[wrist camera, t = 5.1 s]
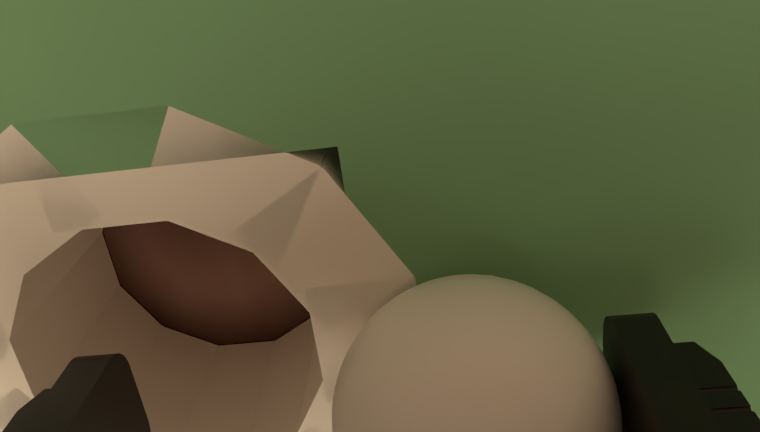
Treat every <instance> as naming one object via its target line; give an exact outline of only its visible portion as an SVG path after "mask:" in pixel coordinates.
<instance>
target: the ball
mask: <svg viewBox="0 0 760 432" xmlns="http://www.w3.org/2000/svg"><path fill="white" fill-rule="evenodd" d="M332 432H623V428H622V410H621V405H620V399H619V394H618V390H617V386H616V383H615V380H614V378H613V375H612V372H611V369H610V367H609V364H608V363H607V361H606V359H605V357H604V355H603V353H602V351H601V349H600V348H599V346H598V345H597V343H596V342H595V340H594V339H593V338H592V336H591V335H590V333H589V332H588V331H587V329H586V328H585V327H584V326H583V325H582V324H581V323H580V322H579V321H578V320H577V319H576V318H575V317H574V316H573V315H572V314H571V313H570V312H569V311H568V310H567V309H566V308H564V307H563V306H562V305H560V304H559V303H558V302H556V301H555V300H554V299H552V298H550V297H548V296H547V295H545V294H543V293H541V292H540V291H538V290H536V289H534V288H532V287H530V286H528V285H525V284H523V283H520V282H517V281H514V280H510V279H506V278H501V277H497V276H493V275H481V274H462V275H451V276H446V277H441V278H437V279H433V280H429V281H426V282H424V283H421V284H419V285H417V286H414V287H412V288H410V289H408V290H406V291H404V292H403V293H401V294H399V295H397V296H396V297H395V298H393V299H392V300H391V301H389V302H388V303H387V304H385V305H384V306H383V307H381V308H380V309H379V310H378V311H377V312H376V313H375V314H374V315H373V316H372V317H371V318H370V319H369V320H368V321H367V323H366V324H365V325H364V326H363V328H362V329H361V330H360V332H359V333H358V335H357V336H356V337H355V339H354V341H353V342H352V344H351V346H350V347H349V349H348V351H347V353H346V356H345V358H344V360H343V363H342V365H341V368H340V371H339V374H338V378H337V381H336V385H335V390H334V395H333V403H332Z"/></svg>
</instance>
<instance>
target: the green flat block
mask: <svg viewBox="0 0 760 432" xmlns="http://www.w3.org/2000/svg"><path fill="white" fill-rule="evenodd" d="M160 221H169V222H172V223H175V224H178V225H180V226H183V227H186V228H188V229H191V230H194V231H196V232H199V233H202V234H204V235H207V236H210V237H212V238H215V239H218V240H221V241H223V242H226V243H229V244H231V245H234V246H237V247H239V248H242V249H245V250H247V251H250V252H253V253H254V254H255V255H256V256H257V257H258V258H259V259H260V261H261V262H262V263H263V264H264V265H265V266H266V267H267V268H268V269H269V270H270V271H271V272H272V273H273V274H274V275H275V276H276V278H277V279H278V280H279V281H280V282H281V283H282V284H283V285H284V286H285V287H286V288H287V289H288V290H289V291H290V292H291V294H292V295H293V296H294V297H295V298H296V299H297V300H298V301H299V302H300V303H301V304H302V305H303V306H304V307H305V308H306V309H307V311H308V312H309V313H310V317H311V318H310V319H308V320H307V321H305V322H304V323H302V324H300V325H299V326H297V327H296V328H294V329H293V330H291V331H290V332H288V333H286V334H285V335H283V336H282V337H280V338H279V339H277V340H276V341H266V342H255V343H244V344H232V345H221V346H218V345H215V344H212V343H209V342H207V341H204V340H201V339H198V338H195V337H192V336H189V335H187V334H184V333H181V332H178V331H175V330H172V329H169V328H166V327H164V326H162V325H161V324H160V323H159V322H158V321H157V320H156V319H155V318H154V317H152V316H151V315H150V314H149V313H148V312H147V311H146V310H145V309H144V308H143V307H142V306H141V305H140V304H139V303H138V302H137V301H136V300H135V299H134V298H132V297H131V296H130V295H129V294H128V293H127V292H126V291H125V290H124V289H123V288H122V287H121V286H120V284H119V281H118V278H117V275H116V272H115V269H114V266H113V263H112V261H111V258H110V255H109V252H108V249H107V246H106V243H105V240H104V237H103V234H102V231H103V227H112V226H122V225H132V224H141V223H151V222H160ZM462 274H481V275H493V276H497V277H501V278H506V279H510V280H514V281H517V282H520V283H523V284H525V285H528V286H530V287H532V288H534V289H536V290H538V291H540V292H541V293H543V294H545V295H547V296H548V297H550V298H552V299H554V300H555V301H556V302H558V303H559V304H560V305H562V306H563V307H564V308H566V309H567V310H568V311H569V312H570V313H571V314H572V315H573V316H574V317H575V318H576V319H577V320H578V321H579V322H580V323H581V324H582V325H583V326H584V327H585V328H586V329H587V331H588V332H589V333H590V335H591V336H592V338H593V339H594V340H595V342H596V343H597V345H598V346H599V348H600V349H601V351H602V353H603V324H604V319H605V317H606V316H614V315H627V314H639V313H652V312H653V313H655V314H656V315H657V316H658V318H659V319H660V321H661V323H662V324H663V326H664V328H665V330H666V331H667V333H668V335H669V337H670V338H671V340H672V342H673V343H680V342H693V341H694V342H695V343H697V344H698V345H699V346H701V347H702V348H704V349H705V350H706V351H708V352H709V353H711V354H712V355H713V356H715V357H716V358H718V359H719V360H720V361H721V362H722V363H723V365H724V366H725V368H726V369H727V371H728V372H729V374H730V375H731V377H732V378H733V380H734V381H735V383H736V384H737V388H738V391H740V390H741V392H742V393H743V395H744V396H745V398H746V400H747V401H748V403H749V404H750V406H751V411H754V412H755V413H756V415H757V416H758V418H759V419H760V0H0V432H2V431H3V430H4V428H5V427H6V426H7V424H8V423H9V422H10V420H11V419H12V417H13V416H14V415H15V413H16V412H17V411H18V410H19V409H20V408H22V407H23V406H24V405H25V404H27V403H28V402H29V401H30V400H31V399H33V398H34V397H35V396H36V395H38V394H39V393H40V392H41V391H43V390H44V389H50V388H52V387H53V385H54V384H55V382H56V381H57V379H58V378H59V377H60V375H61V374H62V372H63V371H64V369H65V368H66V367H67V365H68V364H69V362H70V361H71V360H72V359H73V358H75V357H79V356H91V355H104V354H117V353H120V354H122V355H124V356H125V357H126V359H127V360H128V362H129V365H130V368H131V371H132V374H133V376H134V379H135V382H136V385H137V388H138V391H139V394H140V397H141V400H142V403H143V406H144V409H145V412H146V415H147V418H148V421H149V425H150V432H332V403H333V395H334V390H335V385H336V381H337V378H338V374H339V371H340V368H341V365H342V363H343V360H344V358H345V356H346V353H347V351H348V349H349V347H350V346H351V344H352V342H353V341H354V339H355V337H356V336H357V335H358V333H359V332H360V330H361V329H362V328H363V326H364V325H365V324H366V323H367V321H368V320H369V319H370V318H371V317H372V316H373V315H374V314H375V313H376V312H377V311H378V310H379V309H380V308H381V307H383V306H384V305H385V304H387V303H388V302H389V301H391V300H392V299H393V298H395V297H396V296H397V295H399V294H401V293H403V292H404V291H406V290H408V289H410V288H412V287H414V286H417V285H419V284H421V283H424V282H426V281H429V280H433V279H437V278H441V277H446V276H451V275H462Z"/></svg>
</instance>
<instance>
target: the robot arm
mask: <svg viewBox="0 0 760 432" xmlns="http://www.w3.org/2000/svg"><path fill="white" fill-rule="evenodd" d="M603 355H604V357H605V359H606V361H607V363H608V364H609V367H610V369H611V372H612V375H613V378H614V380H615V383H616V386H617V390H618V394H619V399H620V405H621V410H622V428H623V432H760V419H759V418H758V416H757V415H756V413H755V412H754V411H751V406H750V404H749V403H748V401H747V400H746V398H745V396H744V395H743V393H742V392H741V390H740V391H738V388H737V384H736V383H735V381H734V380H733V378H732V377H731V375H730V374H729V372H728V371H727V369H726V368H725V366H724V365H723V363H722V362H721V361H720V360H719V359H718V358H716V357H715V356H713V355H712V354H711V353H709V352H708V351H706V350H705V349H704V348H702V347H701V346H699V345H698V344H697V343H695V342H694V341H693V342H680V343H673V342H672V340H671V338H670V337H669V335H668V333H667V331H666V330H665V328H664V326H663V324H662V323H661V321H660V319H659V318H658V316H657V315H656V314H655V313H653V312H652V313H639V314H627V315H614V316H606V317H605V319H604V324H603ZM2 432H150V425H149V421H148V418H147V415H146V412H145V409H144V406H143V403H142V400H141V397H140V394H139V391H138V388H137V385H136V382H135V379H134V376H133V374H132V371H131V368H130V365H129V362H128V360H127V359H126V357H125V356H124V355H122V354H120V353H117V354H104V355H91V356H79V357H75V358H73V359H72V360H71V361H70V362H69V364H68V365H67V367H66V368H65V369H64V371H63V372H62V374H61V375H60V377H59V378H58V379H57V381H56V382H55V384H54V385H53V387H52V388H50V389H44V390H43V391H41V392H40V393H39V394H38V395H36V396H35V397H34V398H33V399H31V400H30V401H29V402H28V403H27V404H25V405H24V406H23V407H22V408H20V409H19V410H18V411H17V412H16V413H15V415H14V416H13V417H12V419H11V420H10V422H9V423H8V424H7V426H6V427H5V428H4V430H3V431H2Z"/></svg>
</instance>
